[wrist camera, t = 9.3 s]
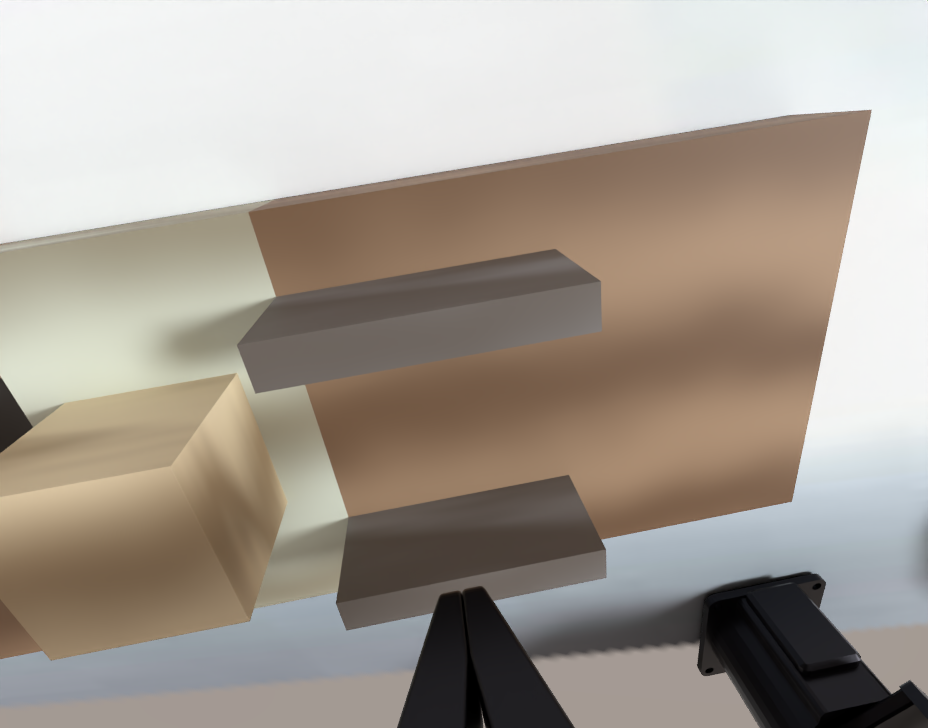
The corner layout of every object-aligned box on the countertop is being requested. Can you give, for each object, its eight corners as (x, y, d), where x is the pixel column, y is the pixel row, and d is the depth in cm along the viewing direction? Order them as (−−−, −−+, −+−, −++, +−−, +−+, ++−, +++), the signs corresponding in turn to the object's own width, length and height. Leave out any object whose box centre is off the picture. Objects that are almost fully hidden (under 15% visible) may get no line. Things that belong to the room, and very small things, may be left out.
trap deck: (743, 457, 22) (868, 572, 16) (-44, 609, 20) (-224, 798, 15) (791, 115, 16) (1020, 100, 10) (-327, 297, 14) (-833, 407, 8)
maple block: (287, 501, 16) (249, 621, 12) (139, 529, 16) (51, 660, 12) (237, 372, 14) (170, 466, 10) (65, 403, 14) (-74, 510, 10)
